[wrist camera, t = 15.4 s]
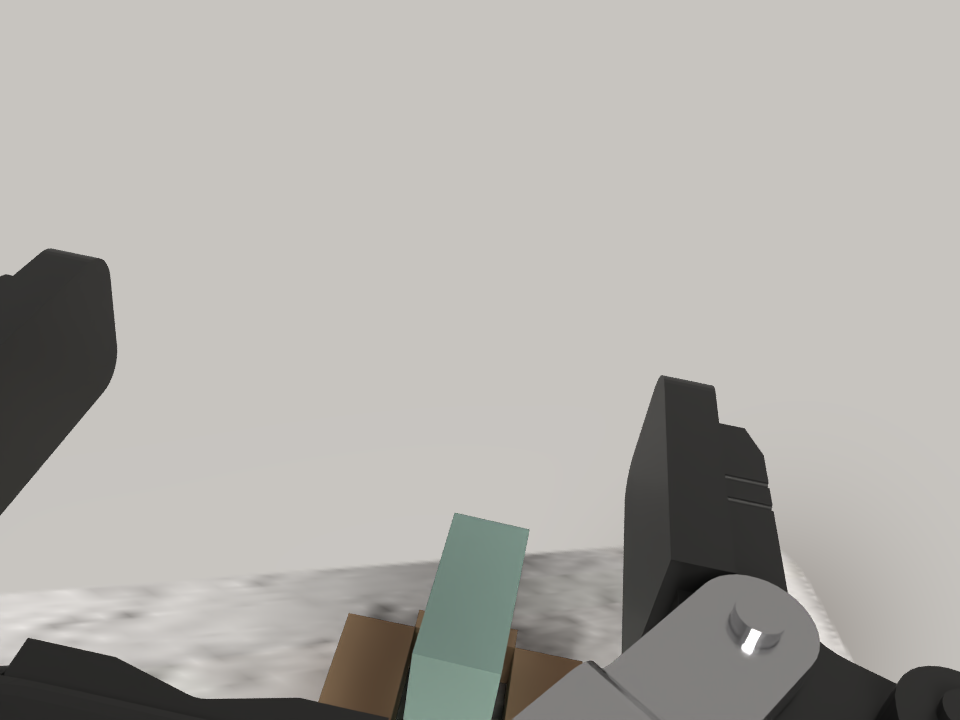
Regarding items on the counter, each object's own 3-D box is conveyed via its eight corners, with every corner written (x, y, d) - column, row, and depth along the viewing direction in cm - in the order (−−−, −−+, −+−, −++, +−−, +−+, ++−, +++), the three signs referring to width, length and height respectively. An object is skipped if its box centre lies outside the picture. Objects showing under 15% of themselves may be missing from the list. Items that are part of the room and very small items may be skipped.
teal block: (389, 820, 36) (412, 653, 30) (429, 675, 41) (454, 512, 36) (463, 839, 35) (501, 674, 30) (493, 690, 41) (529, 529, 36)
